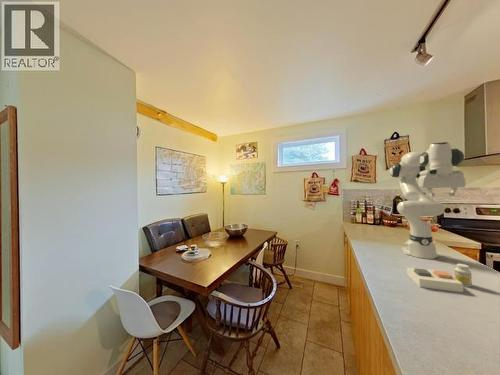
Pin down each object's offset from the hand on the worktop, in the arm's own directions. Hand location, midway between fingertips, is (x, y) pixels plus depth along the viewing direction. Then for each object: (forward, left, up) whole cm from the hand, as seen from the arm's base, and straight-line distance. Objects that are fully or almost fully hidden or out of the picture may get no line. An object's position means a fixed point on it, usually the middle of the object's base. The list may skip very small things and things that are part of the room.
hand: (441, 196), depth 102 cm
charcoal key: (+11, -14, -41) cm, 45 cm away
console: (+11, -10, -44) cm, 46 cm away
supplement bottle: (+9, +3, -44) cm, 45 cm away
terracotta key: (+11, -6, -41) cm, 43 cm away
